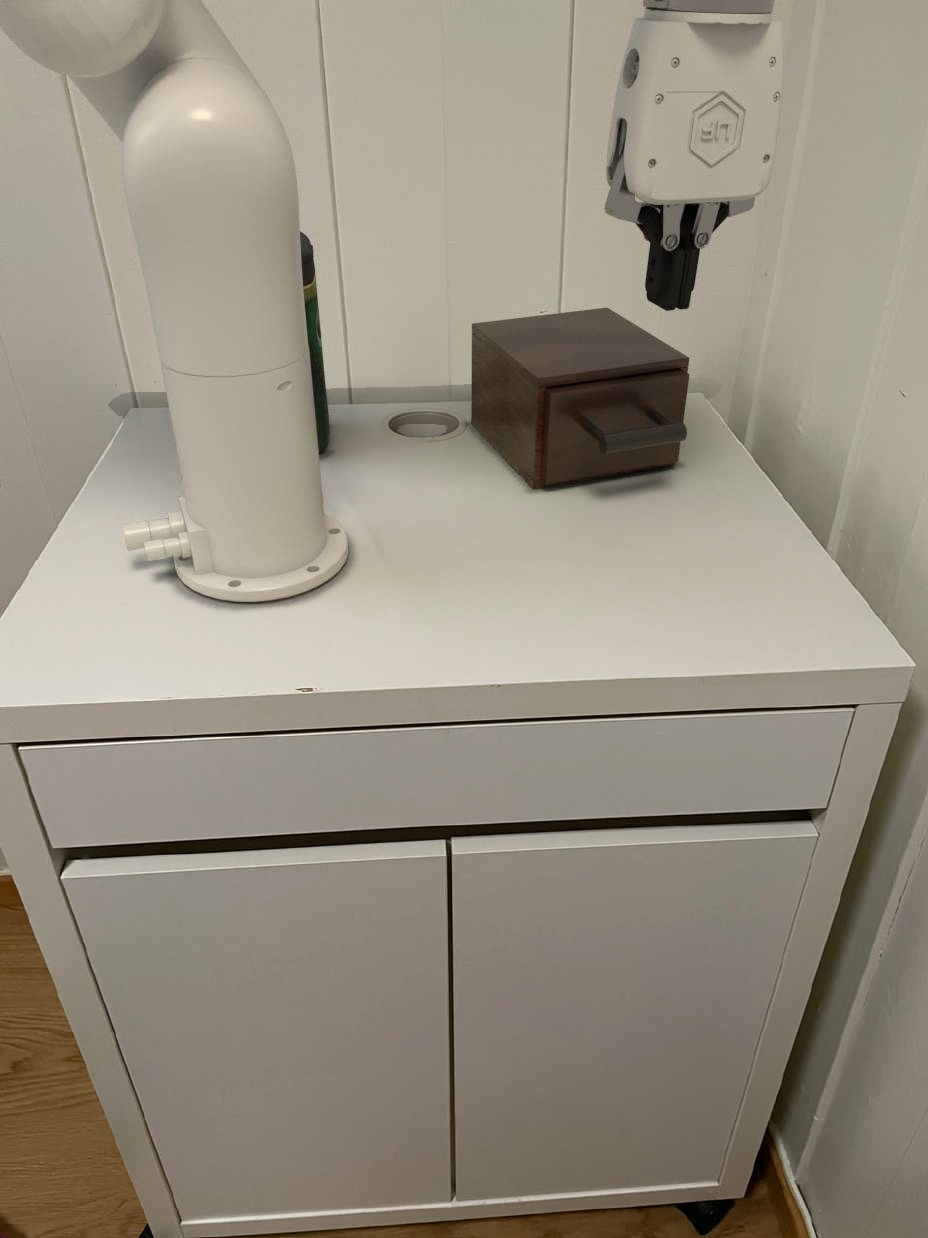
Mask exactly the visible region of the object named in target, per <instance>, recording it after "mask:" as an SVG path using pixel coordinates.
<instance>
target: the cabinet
mask: <svg viewBox="0 0 928 1238" xmlns="http://www.w3.org/2000/svg"><path fill="white" fill-rule="evenodd" d="M689 366H690V357H689V356H687V355H686V354H684V353H682V352H681V351H679V350H678V349H676V348H675V347H672V346H671V345H669V344H668V343H666V342H664V341H663V340H661V339H659V338H658V337H656V336H655V335H653V334H652V333H650V332H648V331H647V330H645V329H644V328H642V327H640V326H638V325H637V324H635V323H634V322H632V321H630V320H628V319H627V318H625V317H624V316H622V315H620V314H619V313H617V312H615V311H614V310H612V309H611V308H609V307H601V308H600V307H599V308H592V309H583V310H575V311H567V312H566V311H565V312H558V313H550V314H541V315H531V316H524V317H516V318H515V317H514V318H507V319H499V320H490V321H481V322H473V323H471V400H470V401H471V402H470V403H471V405H470V407H471V409H470V410H471V412H470V413H471V416H470V419H471V420H470V424H471V425H472V426H473V427H474V429H475V430H476V431H477V432H478V433H479V434H480V435H481V436H482V437H483V438H484V439H485V440H486V441H487V442H488V443H489V444H490V445H491V446H492V447H493V449H494V450H495V451H496V452H497V453H498V454H499V455H500V456H501V457H502V458H503V459H504V460H505V461H506V462H507V463H508V465H510V466H511V468H512V469H513V470H514V471H515V472H516V473H517V474H518V475H519V476H520V477H521V478H522V479H523V480H524V482H526V484H527V485H528V486H529V487H530V488H531V489H532V490H538V489H542V488H549V487H554V486H555V487H556V486H560V485H566V484H573V483H578V482H584V481H589V480H595V479H600V478H606V477H607V478H608V477H611V476H617V475H623V474H630V473H635V472H641V471H646V470H653V469H658V468H665V467H670V466H675V465H676V463H677V462H674V463H668V464H662V465H657V466H651V467H645V468H639V469H633V470H628V471H622V472H616V473H610V474H605V475H599V476H593V477H587V478H581V479H576V480H570V481H564V482H558V483H553V484H545V483H544V482H543V481H542V480H541V479H540V477H541V456H542V436H543V415H544V394H545V389H546V387H549V386H556V385H563V384H571V383H578V382H585V381H592V380H599V379H606V378H613V377H620V376H627V375H634V374H641V373H648V372H655V371H662V370H666V371H665V372H668V371H675V370H684V371H685V372H687V373H688V374H689Z"/></svg>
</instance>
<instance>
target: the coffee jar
mask: <svg viewBox="0 0 928 1238" xmlns="http://www.w3.org/2000/svg"><path fill="white" fill-rule="evenodd" d="M300 245H301V264H302V279H303V292H304V304H305V315H306V326H307V337H308V346H309V353H310V364H311V375H312V386H313V397H314V408H315V418H316V429H317V440H318V451H319V453H321V452H322V451H323V450H324V449H325V448H326V447H327V445H328V443H329V440H330V435H331V434H330V433H331V430H330V415H329V405H328V394H327V388H326V386H327V385H326V376H325V365H324V364H325V363H324V351H323V343H322V342H323V341H322V331H321V319H320V309H319V307H320V306H319V298H318V287H317V286H318V285H317V276H316V275H317V274H316V267H315V259H314V257H315V255H314V245H313V244H312V243H311V240H310V238H309V237H308V235H306V234H305V233H304V232H302V231H301V230H300Z"/></svg>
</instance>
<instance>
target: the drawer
mask: <svg viewBox="0 0 928 1238" xmlns="http://www.w3.org/2000/svg"><path fill="white" fill-rule="evenodd" d="M665 371H666V370H662V371H655V372H648V373H641V374H634V375H627V376H626V378H619V379H612V380H605V381H598V382H591V383H584V384H577V385H570V386H563V387H562V385H556V386H549V387H546V389H545V394H544V415H543V436H542V456H541V477H540V479H541V480H542V481H543V482H544V483H545V484H553V483H558V482H564V481H570V480H576V479H581V478H587V477H593V476H599V475H605V474H610V473H616V472H622V471H628V470H633V469H639V468H645V467H651V466H657V465H662V464H668V463H674V462H676V463H678V462H679V457H680V449H681V443H682V442H684V441H685V440H686V439H687V436H688V429H687V425H686V424H685V423H684V419H685V411H686V404H687V397H688V389H689V382H690V373H689V372H688V373H687V372H685V371H684V370H675V371H668V372H665Z"/></svg>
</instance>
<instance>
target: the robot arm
mask: <svg viewBox="0 0 928 1238" xmlns="http://www.w3.org/2000/svg"><path fill="white" fill-rule="evenodd" d="M642 7H644V11H643V17H634V21H633V24H632V26H631V27H632V28H631V30H630V34H629V37H628V41H627V43H626V44H627V45H626V47H625V52H624V56H623V58H622V63H621V67H620V72H619V75H618V76H619V77H618V81H617V85H616V86H617V87H616V91H615V96H614V102H613V108H612V114H611V121H610V128H609V135H608V144H607V153H606V169H605V173H606V175H605V176H606V182H607V184H608V186H609V191H608V193H607V197H606V200H605V203H604V212H605V214H606V215H608V216H611V217H613V218H614V219H617V220H621V221H625V222H628V223H629V222H630V223H633V224H635V225H636V227H638V229H639V230H640V232H641V233H642V235H643V238H644V240H645V241H647V242H648V243H649V248H648V256H647V266H646V271H645V272H646V273H645V282H644V286H645V287H644V289H645V292H646V294H645V295H646V300H647V301H648V302H649V303H652V304H653V305H654V306H657V307H659V308H661V309H662V310H664V311H665V312H668V311H669V312H670V311H675V310H676V309H678V310H680V311H681V310H682V311H683V310H688V309H689V308H690V306H691V305H690V304H691V298H692V292H693V291H694V290H695V286H696V279H697V272H698V266H699V259H700V252H701V250H702V249H705V248H706V247H707V246H708V245H709V244H710V241H711V238H712V235H713V233H714V232H715V231H716V230H717V229H718V228H719V227H720V226H721V225H722V223H723V222H724V221H725V220H726V219H727V218H732V217H735V216H738V215H741V214H743V213H747V212H749V211H751V210H752V209H753V207H754V206H755V201H756V197H758V196H760V195H761V194H762V193H764V191H766V189H767V188H768V185H769V184H770V180H771V176H772V172H773V166H774V160H775V155H776V149H777V140H778V136H779V135H778V134H779V125H780V119H781V118H780V117H781V107H782V95H783V84H784V65H785V64H784V55H785V53H784V49H785V48H784V26H783V22H782V21H775V20H774V21H773V20H772V18H773V12H774V7H775V0H642ZM0 29H1V30H2V31H3V33H4V34H5V35H6V36H7V38H8V39H9V40H10V41H11V42H12V43H13V44H14V45H15V46H16V47H17V48H19V50H20V51H21V52H22V53H23V54H25V55H26V56H27V57H29V58H30V59H31V60H33V61H35V62H36V63H37V64H39V65H41V66H42V67H43V68H46V69H48V70H51V71H53V72H55V73H58V74H60V75H63V76H68V77H69V79H70V80H71V81H72V82H73V83H74V85H75V86H76V87H77V89H78V90H79V91H80V92H81V94H82V95H83V96H84V97H85V98H86V99H87V101H88V102H89V103H90V104H91V106H92V108H93V109H94V110H95V111H96V112H97V113H98V114H99V116H100V117H101V118H102V119H103V121H104V122H105V123H106V125H108V127H109V128H110V129H111V131H112V132H113V133H114V134H115V136H116V137H117V138H118V139H119V141H121V143H122V148H121V150H122V151H121V167H122V170H121V171H122V180H123V189H124V195H125V201H126V206H127V210H128V215H129V216H128V217H129V221H130V223H131V229H132V234H133V238H134V240H135V245H136V250H137V253H138V258H139V261H140V266H141V271H142V275H143V280H144V285H145V289H146V294H147V299H148V304H149V309H150V310H149V311H150V315H151V320H152V321H151V322H152V327H153V331H154V337H155V342H156V348H157V354H158V358H159V361H160V366H161V372H162V377H163V383H164V388H165V393H166V394H165V395H166V399H167V405H168V410H169V415H170V421H171V428H172V432H173V438H174V444H175V448H176V454H177V460H178V465H179V472H180V476H181V480H182V489H183V494H184V496H180V497H179V498H178V501H179V507H180V510H177V511H172V512H167V517H165V518H160V519H153V520H147V519H146V520H140V521H134V522H133V521H132V522H127V523H122V524H121V526H122V532H123V535H124V541H125V545H126V549H127V551H128V552H129V551H136V550H141V549H142V550H143V549H144V550H145V555H146V559H147V560H146V561H147V562H153V561H157V560H163V559H167V558H169V557H170V558H171V557H173V563H174V569H175V571H176V575H177V577H178V578H179V579H180V580H181V582H182V583H183V584H184V585H185V586H187V587H188V588H190V589H191V590H192V591H194V592H197V593H199V594H201V595H203V596H206V597H209V598H213V599H217V600H221V601H229V602H236V603H237V602H240V603H257V602H269V601H275V600H279V599H280V600H281V599H285V598H290V597H293V596H297V595H300V594H303V593H306V592H308V591H310V590H313V589H314V588H318V587H319V586H321V585H322V584H324V583H326V582H327V581H329V580H330V579H331V578H333V577H334V576H335V575H336V574H337V573H338V572H339V571H340V570H342V568H343V566H344V564H346V562H347V559H348V557H349V539H348V536H347V535H348V534H347V532H346V530H345V529H344V527H343V526H342V524H341V523H339V521H337V520H336V519H334V518H333V517H332V516H331V515H328V514H326V513H325V507H324V506H325V505H324V495H323V486H322V485H323V483H322V474H321V465H320V464H321V463H320V454H319V453H320V452H319V451H318V440H317V429H316V418H315V408H314V397H313V386H312V375H311V364H310V353H309V346H308V337H307V326H306V315H305V304H304V292H303V279H302V264H301V245H300V231H301V224H300V223H301V222H300V203H299V202H300V201H299V188H298V179H297V171H296V165H295V159H294V154H293V150H292V147H291V143H290V139H289V136H288V133H287V131H286V128H285V126H284V124H283V122H282V120H281V117H280V116H279V113H278V112H277V110H276V108H275V106H274V104H273V103H272V101H271V100H270V98H269V96H268V95H267V93H266V91H265V90H264V88H263V87H262V86H261V84H260V82H259V81H258V80H257V79H256V77H255V76H254V74H253V73H252V71H251V70H250V68H249V67H248V66H247V64H246V63H245V61H244V60H243V59H242V57H241V56H240V54H239V53H238V51H237V50H236V48H235V47H234V46H233V44H232V43H231V41H230V40H229V38H228V37H227V36H226V34H225V32H224V31H223V30H222V28H221V27H220V25H219V24H218V22H217V20H216V19H215V18H214V17H213V15H212V14H211V12H210V11H209V10H208V8H207V6H206V5H205V4H204V2H203V1H202V0H0ZM636 199H638V200H639V201H637V200H636Z"/></svg>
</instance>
